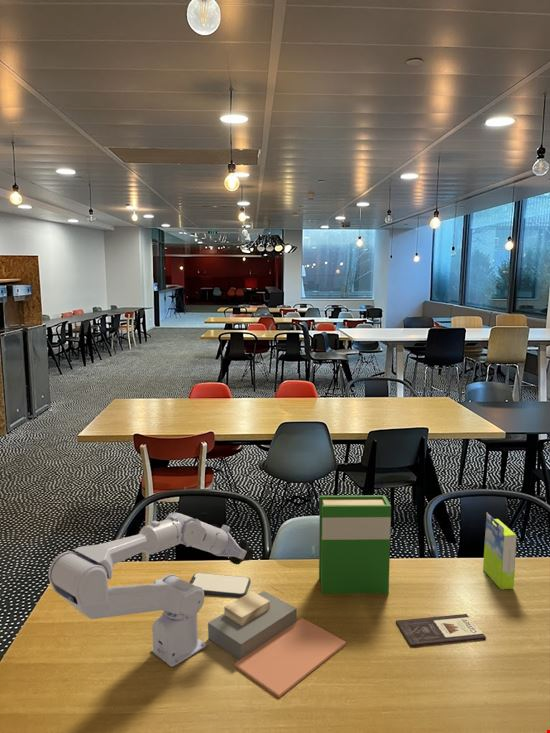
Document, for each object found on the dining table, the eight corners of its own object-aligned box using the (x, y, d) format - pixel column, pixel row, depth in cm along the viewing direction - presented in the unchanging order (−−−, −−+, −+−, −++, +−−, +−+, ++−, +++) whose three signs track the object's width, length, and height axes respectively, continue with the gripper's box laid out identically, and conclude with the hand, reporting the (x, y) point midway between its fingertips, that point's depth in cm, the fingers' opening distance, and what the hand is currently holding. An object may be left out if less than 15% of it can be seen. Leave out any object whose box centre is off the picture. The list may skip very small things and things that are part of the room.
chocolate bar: (395, 620, 128) (466, 613, 130) (395, 624, 128) (466, 617, 131) (410, 645, 119) (486, 637, 122) (410, 648, 119) (485, 641, 122)
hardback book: (321, 593, 140) (322, 506, 137) (318, 578, 148) (319, 495, 144) (388, 593, 140) (391, 506, 137) (382, 578, 148) (384, 495, 144)
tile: (242, 625, 120) (241, 617, 120) (224, 614, 124) (224, 606, 124) (269, 608, 127) (269, 600, 126) (252, 598, 131) (252, 591, 131)
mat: (279, 697, 104) (279, 694, 104) (234, 666, 113) (234, 663, 113) (346, 644, 120) (346, 641, 120) (302, 620, 129) (302, 617, 129)
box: (514, 589, 142) (518, 527, 140) (499, 590, 142) (503, 528, 139) (495, 569, 152) (498, 511, 150) (481, 569, 152) (484, 511, 150)
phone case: (251, 582, 147) (194, 577, 149) (251, 576, 147) (194, 571, 149) (245, 600, 138) (185, 594, 141) (245, 594, 138) (185, 589, 140)
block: (241, 661, 114) (241, 644, 114) (208, 638, 122) (208, 622, 121) (296, 623, 127) (296, 608, 127) (263, 605, 135) (263, 590, 134)
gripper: (237, 532, 119) (268, 545, 129) (194, 510, 128) (227, 523, 138) (223, 563, 117) (256, 573, 127) (181, 538, 127) (215, 549, 137)
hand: (240, 549), depth 133 cm, fingers open, 7 cm apart
